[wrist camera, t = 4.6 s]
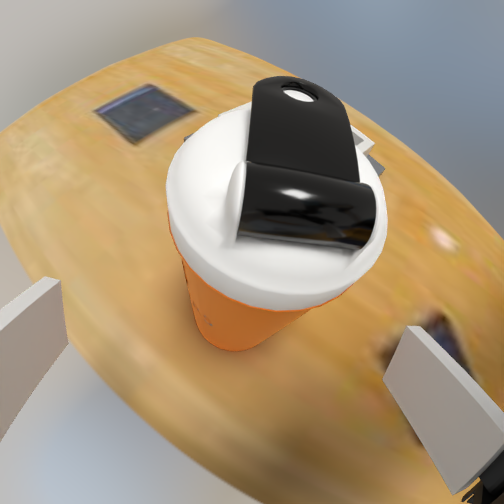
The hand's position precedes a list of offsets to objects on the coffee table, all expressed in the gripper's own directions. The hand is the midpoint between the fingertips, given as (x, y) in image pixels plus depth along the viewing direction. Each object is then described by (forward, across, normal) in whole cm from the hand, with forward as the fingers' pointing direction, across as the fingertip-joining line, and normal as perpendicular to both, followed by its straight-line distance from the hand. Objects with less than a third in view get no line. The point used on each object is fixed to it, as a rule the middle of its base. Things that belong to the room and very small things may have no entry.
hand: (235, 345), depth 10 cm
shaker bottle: (+15, +1, -7) cm, 17 cm away
